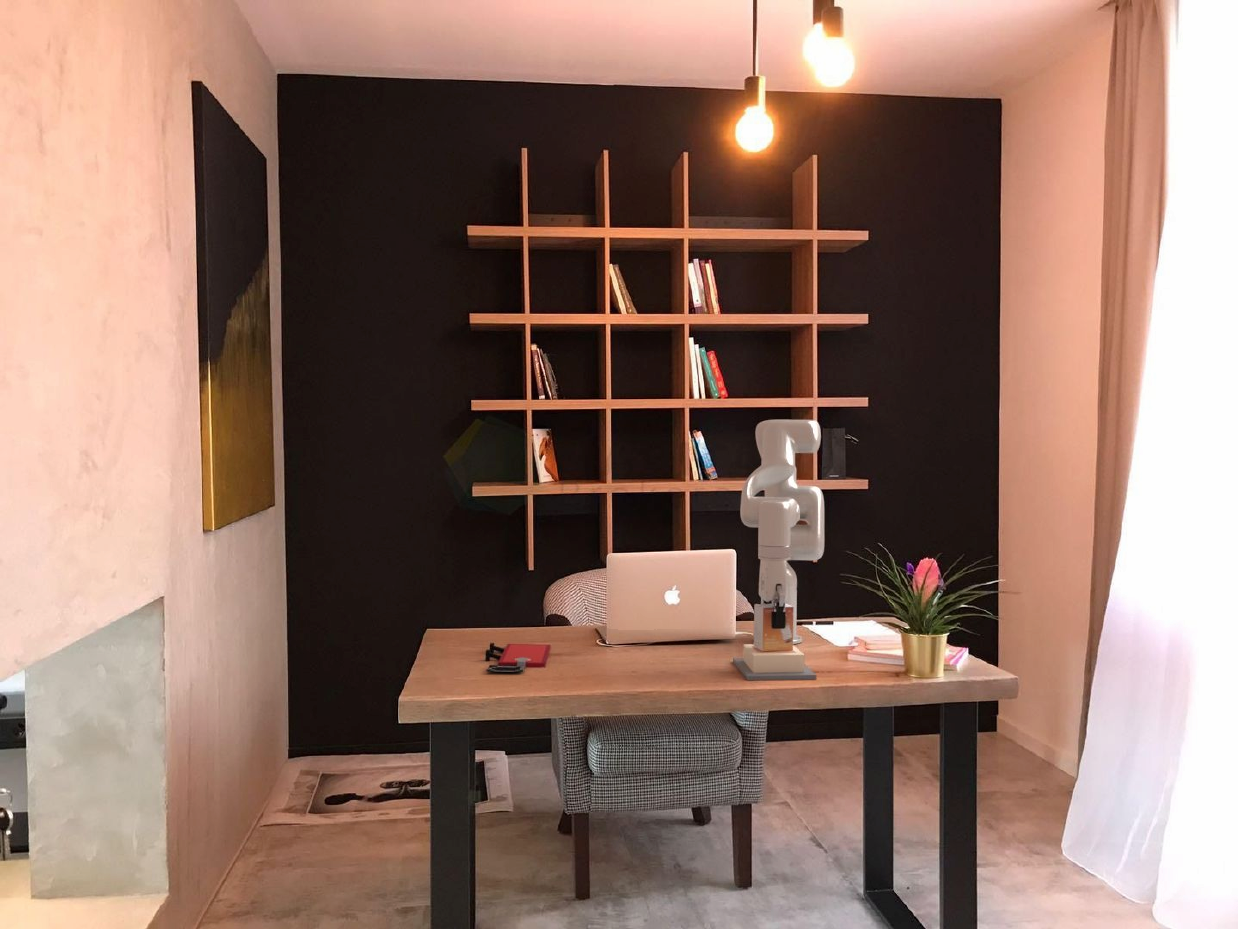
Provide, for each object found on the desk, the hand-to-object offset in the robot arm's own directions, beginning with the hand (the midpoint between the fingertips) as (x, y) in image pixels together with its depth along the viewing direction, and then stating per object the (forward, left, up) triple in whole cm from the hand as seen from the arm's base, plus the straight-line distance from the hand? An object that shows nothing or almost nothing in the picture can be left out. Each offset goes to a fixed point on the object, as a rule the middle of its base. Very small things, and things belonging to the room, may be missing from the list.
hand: (773, 624), depth 240 cm
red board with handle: (-14, -61, -12) cm, 64 cm away
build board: (0, 0, -11) cm, 11 cm away
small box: (0, 0, -6) cm, 6 cm away
